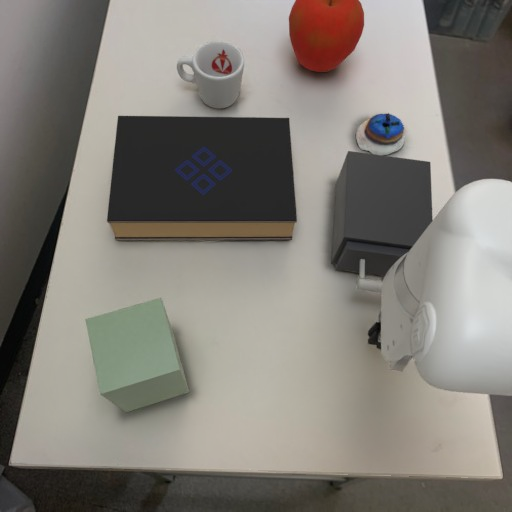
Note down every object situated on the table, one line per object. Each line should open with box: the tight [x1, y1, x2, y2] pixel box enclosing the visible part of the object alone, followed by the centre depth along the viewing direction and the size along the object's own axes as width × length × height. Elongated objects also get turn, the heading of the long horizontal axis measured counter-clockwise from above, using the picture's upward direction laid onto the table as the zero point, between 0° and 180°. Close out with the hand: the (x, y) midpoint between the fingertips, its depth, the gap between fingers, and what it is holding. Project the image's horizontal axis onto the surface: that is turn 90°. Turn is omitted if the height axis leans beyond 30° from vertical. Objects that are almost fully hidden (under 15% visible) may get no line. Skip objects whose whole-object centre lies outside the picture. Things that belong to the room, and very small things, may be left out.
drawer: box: [335, 240, 410, 294], centre depth 68 cm, size 17×10×7 cm, turn 173°
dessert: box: [355, 113, 406, 156], centre depth 80 cm, size 8×7×6 cm
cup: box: [176, 40, 245, 109], centre depth 79 cm, size 11×8×8 cm
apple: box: [288, 0, 365, 73], centre depth 80 cm, size 12×12×14 cm
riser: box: [85, 297, 190, 413], centre depth 56 cm, size 8×8×14 cm
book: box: [106, 115, 298, 241], centre depth 71 cm, size 17×25×7 cm
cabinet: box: [330, 150, 433, 265], centre depth 69 cm, size 14×12×9 cm
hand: (379, 339), depth 61 cm, fingers closed
